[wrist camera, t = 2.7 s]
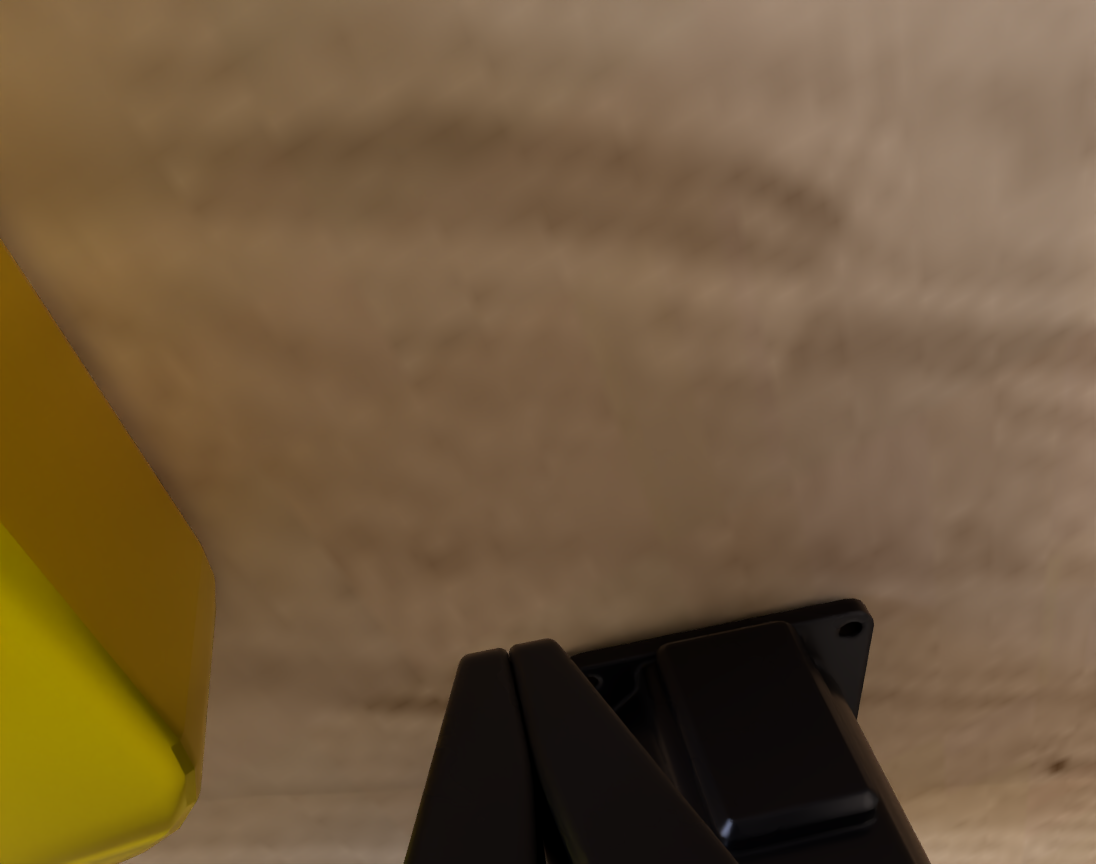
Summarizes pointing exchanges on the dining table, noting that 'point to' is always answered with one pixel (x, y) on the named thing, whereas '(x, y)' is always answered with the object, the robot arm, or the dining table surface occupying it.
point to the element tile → (90, 614)
